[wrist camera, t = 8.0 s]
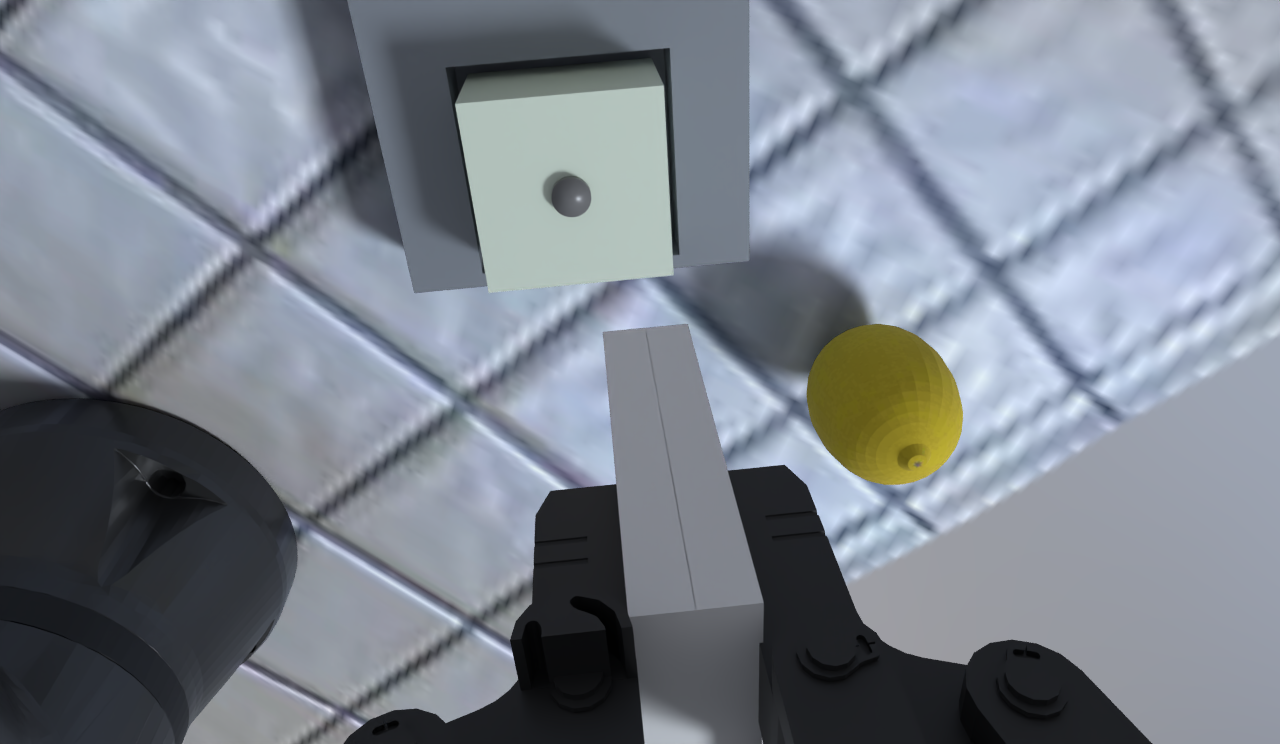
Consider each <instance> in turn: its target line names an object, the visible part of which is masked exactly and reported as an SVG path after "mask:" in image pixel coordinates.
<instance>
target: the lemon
mask: <svg viewBox="0 0 1280 744" xmlns="http://www.w3.org/2000/svg"><path fill="white" fill-rule="evenodd" d="M807 403H808V408H809V414H810V418H811V421H812V424H813V427H814V428H815V430H816V432H817V434H818V436H819V437H820V439H821V441H822V443H823V444H824V446H825V447H826V449H827V450H828V451H829V452H830V453H831V455H832V456H834V457H835V458H836V459H837V460H838V461H839V462H840V463H841V464H842V465H843V466H844V467H845V468H846V469H848V470H849V471H850V472H852V473H854V474H855V475H857V476H859V477H861V478H863V479H865V480H867V481H871V482H875V483H880V484H884V485H899V484H906V483H911V482H915V481H917V480H920V479H922V478H925V477H927V476H928V475H930V474H932V473H933V472H935V471H936V470H938V469H939V468H940V467H941V466H942V465H943V464H944V463H945V462H946V461H947V460H948V458H949V457H950V455H951V454H952V453H953V451H954V450H955V448H956V446H957V443H958V440H959V438H960V435H961V431H962V421H963V410H962V404H961V400H960V396H959V392H958V388H957V385H956V382H955V379H954V377H953V375H952V374H951V372H950V370H949V369H948V367H947V366H946V364H945V363H944V361H943V359H942V358H941V356H940V355H939V354H938V353H937V352H936V351H935V350H934V349H933V348H932V347H931V346H929V345H928V344H927V343H926V342H925V341H923V340H922V339H921V338H920V337H918V336H917V335H915V334H913V333H911V332H908V331H906V330H904V329H901V328H899V327H895V326H890V325H882V324H872V325H862V326H858V327H855V328H852V329H849V330H847V331H845V332H843V333H842V334H840V335H838V336H836V337H835V338H834V339H832V340H831V341H830V342H829V343H828V344H827V345H826V346H824V348H823V349H822V351H821V352H820V353H819V355H818V356H817V357H816V359H815V361H814V363H813V366H812V368H811V371H810V373H809V377H808V385H807Z"/></svg>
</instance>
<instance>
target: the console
mask: <svg viewBox="0 0 1280 744" xmlns="http://www.w3.org/2000/svg"><path fill="white" fill-rule="evenodd" d="M347 2H348V6H349V11H350V15H351V19H352V24H353V28H354V33H355V37H356V41H357V46H358V50H359V54H360V59H361V63H362V67H363V72H364V76H365V80H366V85H367V89H368V94H369V98H370V102H371V107H372V111H373V115H374V120H375V124H376V128H377V133H378V137H379V141H380V146H381V150H382V155H383V159H384V163H385V168H386V172H387V176H388V181H389V185H390V189H391V194H392V198H393V202H394V207H395V211H396V216H397V220H398V224H399V229H400V233H401V237H402V242H403V246H404V250H405V255H406V259H407V263H408V268H409V272H410V277H411V281H412V285H413V290H414V293H421V292H432V291H442V290H453V289H463V288H473V287H484V286H487V280H486V275H485V269H484V263H483V258H482V252H481V247H480V241H479V235H478V230H477V224H476V219H475V213H474V207H473V202H472V196H471V191H470V185H469V179H468V174H467V168H466V163H465V157H464V151H463V146H462V140H461V135H460V129H459V123H458V118H457V112H456V107H455V103H456V101H457V98H458V96H459V94H460V91H461V89H462V87H463V85H464V82H465V80H466V78H467V75H468V74H471V73H483V72H494V71H506V70H517V69H529V68H540V67H552V66H563V65H574V64H586V63H597V62H609V61H620V60H632V59H643V58H652V61H653V63H654V65H655V67H656V69H657V72H658V74H659V76H660V78H661V80H662V83H663V85H664V98H665V118H666V137H667V157H668V176H669V195H670V215H671V234H672V253H673V268H683V267H693V266H704V265H714V264H724V263H735V262H745V261H749V0H347Z"/></svg>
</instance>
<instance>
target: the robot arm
mask: <svg viewBox="0 0 1280 744" xmlns="http://www.w3.org/2000/svg"><path fill="white" fill-rule="evenodd" d="M603 339H604V350H605V362H606V373H607V384H608V395H609V407H610V418H611V429H612V440H613V452H614V463H615V474H616V484H614V485H604V486H595V487H585V488H575V489H565V490H555V491H550V493H549V494H548V496H547V498H546V499H545V501H544V502H543V504H542V506H541V507H540V509H539V511H538V512H537V514H536V519H535V547H534V570H533V596H532V604H531V605H529V607H528V608H527V609H526V610H525V611H524V613H523V614H522V615H521V616H520V617H519V618H518V620H517V621H516V623H515V626H514V629H513V632H512V636H511V639H510V642H511V647H512V652H513V656H514V661H515V666H516V670H517V675H518V681H517V682H516V683H515V684H514V685H513V687H512V688H511V689H510V690H509V691H508V692H506V693H505V694H504V695H503V696H501V697H500V698H499V699H498V700H496V701H495V702H493V703H491V704H489V705H487V706H485V707H483V708H481V709H480V710H477V711H475V712H472V713H470V714H467V715H465V716H463V717H460V718H458V719H455V720H453V721H450V722H448V723H445V722H444V721H443V720H442V719H441V718H440V717H439V716H437V715H436V714H433V713H429V712H426V711H423V710H419V709H406V710H393V711H391V712H388V713H386V714H383V715H381V716H378V717H376V718H373V719H371V720H369V721H368V722H367V723H365V724H364V725H363V726H361V727H360V728H359V729H358V730H356V731H355V732H354V733H352V734H351V735H350V736H349V737H348V738H347V740H346V741H345V743H344V744H762V740H763V744H1152V743H1151V742H1150V741H1149V740H1148V739H1147V738H1146V737H1145V736H1144V735H1143V734H1142V733H1141V732H1140V731H1139V730H1138V729H1137V728H1136V726H1134V724H1133V723H1132V722H1131V721H1130V720H1129V719H1128V718H1127V717H1126V716H1125V715H1124V714H1123V713H1122V712H1121V711H1120V710H1119V709H1118V708H1117V707H1116V706H1115V705H1114V704H1113V703H1112V702H1111V700H1110V699H1109V698H1108V697H1107V696H1106V695H1105V694H1104V693H1103V692H1102V691H1101V690H1100V689H1099V688H1098V687H1097V686H1096V685H1095V684H1094V683H1093V682H1092V681H1091V680H1090V679H1089V678H1088V677H1087V676H1086V675H1085V674H1084V672H1083V671H1082V670H1080V669H1079V668H1078V667H1077V666H1075V665H1074V664H1073V663H1071V662H1070V661H1069V660H1068V659H1066V658H1065V657H1064V656H1062V655H1061V654H1059V653H1057V652H1055V651H1052V650H1050V649H1048V648H1045V647H1043V646H1041V645H1039V644H1036V643H1029V642H1023V641H1017V640H1007V641H1000V642H994V643H989V644H988V645H986V646H984V647H983V648H981V649H979V650H978V651H976V652H974V654H973V656H972V658H971V659H970V661H969V663H968V665H963V664H957V663H951V662H945V661H939V660H933V659H927V658H922V657H918V656H914V655H911V654H907V653H904V652H902V651H900V650H897V649H895V648H893V647H891V646H889V645H887V644H886V643H885V642H883V641H882V640H881V639H880V638H879V636H878V635H877V633H876V632H874V631H873V630H872V629H870V628H869V627H867V626H866V625H865V624H863V622H862V620H861V618H860V617H859V615H858V613H857V611H856V609H855V606H854V604H853V602H852V599H851V596H850V594H849V591H848V589H847V586H846V584H845V581H844V579H843V576H842V573H841V571H840V568H839V566H838V563H837V561H836V558H835V556H834V553H833V551H832V548H831V545H830V543H829V540H828V538H827V536H825V530H824V528H823V525H822V523H821V520H820V518H819V515H817V510H816V507H815V505H814V502H813V500H812V497H811V495H810V492H809V490H808V487H807V485H806V484H805V483H804V482H803V481H802V480H800V479H799V478H798V477H797V476H796V475H795V474H794V473H793V472H792V471H791V470H790V469H788V468H787V467H786V466H785V465H779V466H769V467H760V468H750V469H740V470H730V471H728V470H727V466H726V463H725V459H724V455H723V452H722V448H721V444H720V441H719V437H718V433H717V430H716V426H715V422H714V419H713V415H712V411H711V408H710V404H709V400H708V397H707V393H706V389H705V386H704V382H703V379H702V375H701V371H700V368H699V364H698V360H697V357H696V353H695V349H694V346H693V342H692V338H691V335H690V331H689V327H688V324H681V325H671V326H660V327H650V328H639V329H629V330H618V331H608V332H603ZM296 568H297V543H296V537H295V533H294V529H293V526H292V523H291V520H290V518H289V516H288V513H287V511H286V509H285V508H284V506H283V504H282V502H281V501H280V499H279V497H278V496H277V494H276V493H275V492H274V490H273V489H272V488H271V486H270V485H269V484H268V483H267V481H266V480H265V479H264V478H263V477H262V476H261V475H260V474H259V473H258V472H257V471H256V470H255V469H254V468H253V467H252V466H251V465H250V464H249V463H248V462H247V461H246V460H244V459H243V458H242V457H241V456H240V455H238V454H237V453H236V452H234V451H233V450H232V449H230V448H229V447H227V446H226V445H224V444H223V443H222V442H220V441H218V440H217V439H215V438H213V437H212V436H210V435H208V434H206V433H205V432H203V431H201V430H199V429H197V428H195V427H193V426H191V425H189V424H186V423H184V422H182V421H179V420H177V419H174V418H172V417H169V416H167V415H164V414H161V413H158V412H155V411H151V410H148V409H144V408H141V407H136V406H132V405H127V404H122V403H116V402H110V401H102V400H91V399H57V400H46V401H38V402H33V403H28V404H23V405H19V406H15V407H12V408H9V409H6V410H3V411H0V744H182V742H183V740H184V737H185V735H186V732H187V730H188V728H189V726H190V724H191V723H192V722H193V721H194V719H195V718H196V717H197V716H198V715H199V714H200V712H201V711H202V710H203V709H204V708H205V706H206V705H207V704H208V703H209V702H210V701H211V699H212V698H213V697H214V696H215V695H216V693H217V692H218V691H219V690H220V689H221V688H222V686H223V685H224V684H225V683H226V682H227V680H228V679H229V678H230V677H231V676H232V674H233V673H234V672H235V671H236V669H237V668H238V667H239V666H240V665H241V664H242V663H244V662H245V661H246V660H248V658H249V657H250V656H251V655H252V654H253V653H254V652H255V651H256V650H257V649H258V648H259V647H260V646H261V645H262V644H263V643H264V642H265V640H266V639H267V638H268V636H269V635H270V633H271V632H272V630H273V628H274V627H275V625H276V623H277V622H278V620H279V617H280V615H281V613H282V610H283V608H284V605H285V602H286V600H287V597H288V594H289V592H290V589H291V586H292V583H293V580H294V577H295V573H296Z"/></svg>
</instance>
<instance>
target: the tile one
mask: <svg viewBox="0 0 1280 744" xmlns="http://www.w3.org/2000/svg"><path fill="white" fill-rule="evenodd" d="M455 107H456V112H457V118H458V123H459V129H460V135H461V140H462V146H463V151H464V157H465V163H466V168H467V174H468V179H469V185H470V191H471V196H472V202H473V207H474V213H475V219H476V224H477V230H478V235H479V241H480V247H481V252H482V258H483V263H484V269H485V275H486V280H487V286H488V291H489V293H494V292H504V291H514V290H525V289H535V288H546V287H556V286H567V285H577V284H587V283H598V282H608V281H619V280H629V279H640V278H650V277H660V276H671V275H674V273H673V253H672V234H671V215H670V195H669V176H668V157H667V137H666V118H665V98H664V85H663V83H662V80H661V78H660V76H659V74H658V72H657V69H656V67H655V65H654V63H653V61H652V58H643V59H632V60H620V61H609V62H597V63H586V64H574V65H563V66H552V67H540V68H529V69H517V70H506V71H494V72H483V73H471V74H468V75H467V78H466V80H465V82H464V85H463V87H462V89H461V91H460V94H459V96H458V98H457V101H456V103H455Z"/></svg>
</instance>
